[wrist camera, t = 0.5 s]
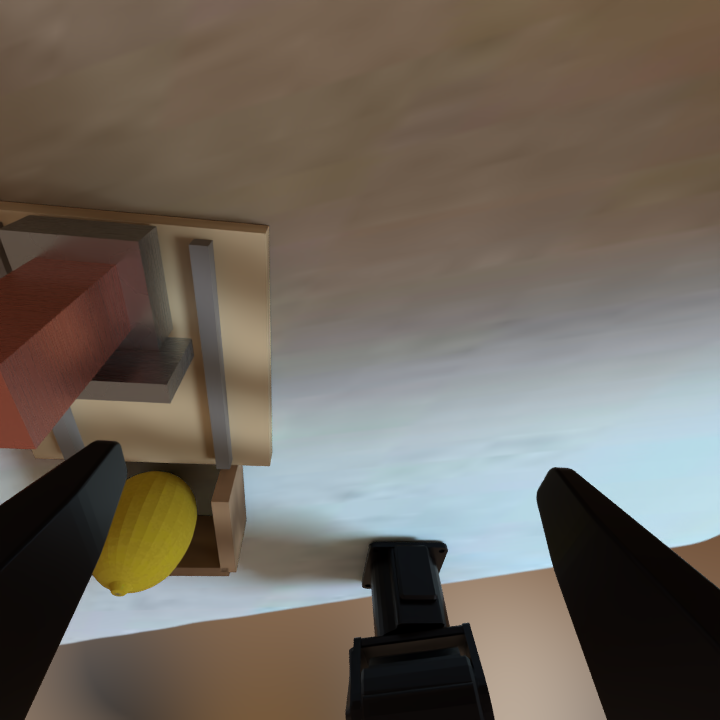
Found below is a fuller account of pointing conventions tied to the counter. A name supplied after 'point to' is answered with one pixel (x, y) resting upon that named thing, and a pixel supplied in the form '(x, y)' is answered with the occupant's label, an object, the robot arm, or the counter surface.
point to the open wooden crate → (218, 530)
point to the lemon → (147, 533)
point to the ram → (82, 322)
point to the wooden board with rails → (210, 345)
